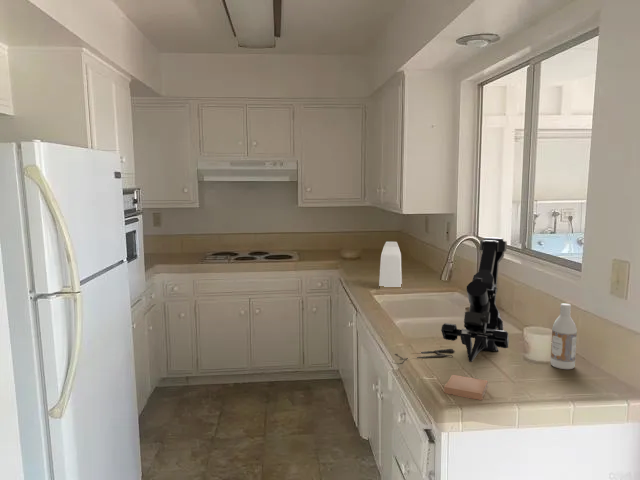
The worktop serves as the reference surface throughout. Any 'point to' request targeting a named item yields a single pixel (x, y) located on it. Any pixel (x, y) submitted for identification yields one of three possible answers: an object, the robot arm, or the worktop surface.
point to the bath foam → (564, 339)
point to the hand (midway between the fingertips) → (470, 361)
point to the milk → (390, 266)
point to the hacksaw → (432, 356)
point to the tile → (466, 387)
